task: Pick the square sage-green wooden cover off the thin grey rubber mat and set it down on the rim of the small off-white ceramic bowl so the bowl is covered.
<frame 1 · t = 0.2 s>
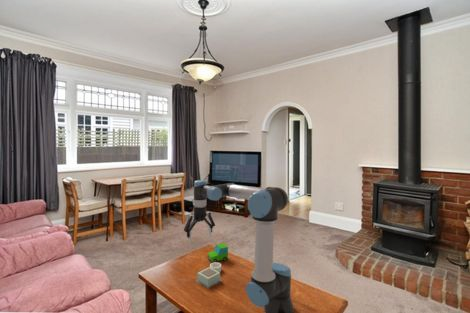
hand: (199, 240, 153), 27 cm above the table, fingers open, 13 cm apart
bowl: (215, 270, 168), on the table
mat: (208, 280, 156), on the table
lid: (208, 280, 156), resting on mat
toy car: (217, 259, 185), on the table
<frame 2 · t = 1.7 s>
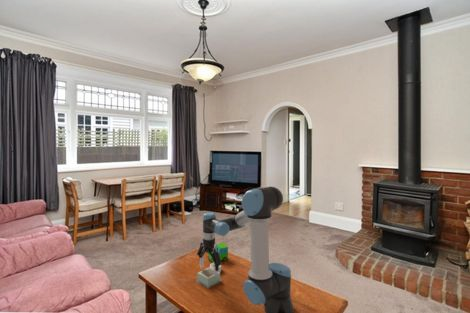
hand: (208, 271, 156), 6 cm above the table, fingers open, 13 cm apart
nothing on the table moved.
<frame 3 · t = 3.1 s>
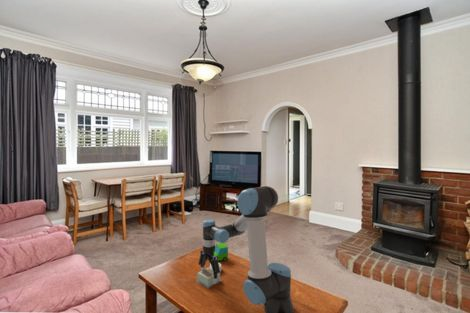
hand: (208, 279, 156), 1 cm above the table, fingers closed on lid, 10 cm apart
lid: (208, 280, 156), resting on mat, touching gripper
everything else where it was.
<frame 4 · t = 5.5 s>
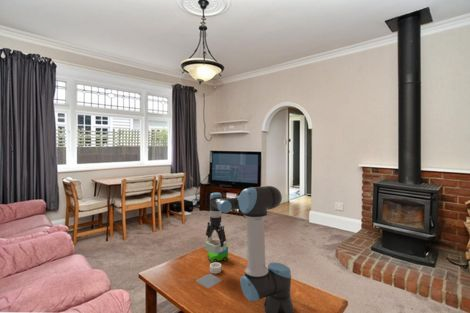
hand: (215, 248, 167), 15 cm above the table, fingers closed on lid, 10 cm apart
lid: (215, 249, 167), point 15 cm above the table, touching gripper
everything else where it was.
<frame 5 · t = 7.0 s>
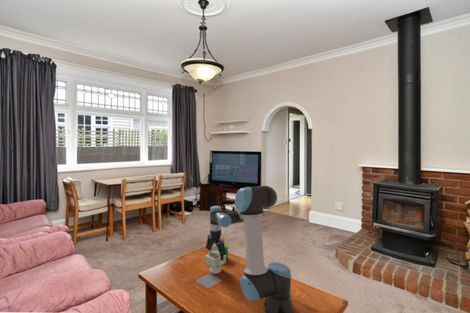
hand: (215, 261, 168), 6 cm above the table, fingers closed on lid, 10 cm apart
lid: (215, 262, 168), point 6 cm above the table, touching gripper
everything else where it was.
when the fingers open (6 cm above the table, at t = 8.0 s): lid drops 1 cm, resting on bowl.
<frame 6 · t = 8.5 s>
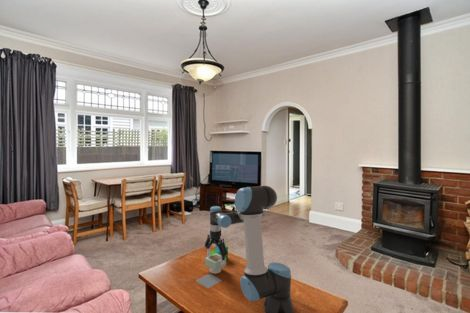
hand: (215, 260, 168), 7 cm above the table, fingers open, 13 cm apart
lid: (215, 265, 168), point 4 cm above the table, touching bowl
everything else where it was.
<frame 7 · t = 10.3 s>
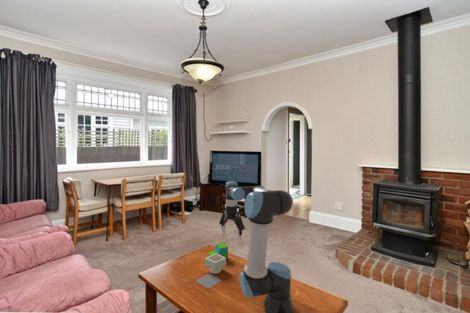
hand: (231, 237, 164), 24 cm above the table, fingers open, 13 cm apart
nothing on the table moved.
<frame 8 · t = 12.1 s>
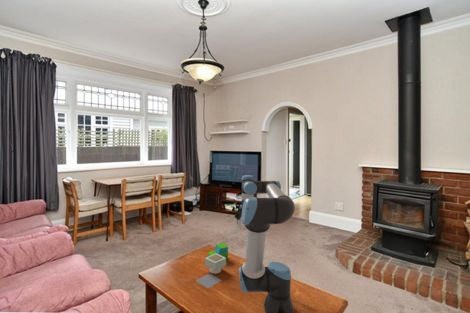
hand: (247, 231, 162), 29 cm above the table, fingers open, 13 cm apart
nothing on the table moved.
at the end: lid 0.1 cm off-centre on the bowl, point 4.0 cm above the bowl's base; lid tilted 0°; the gripper is holding nothing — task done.
